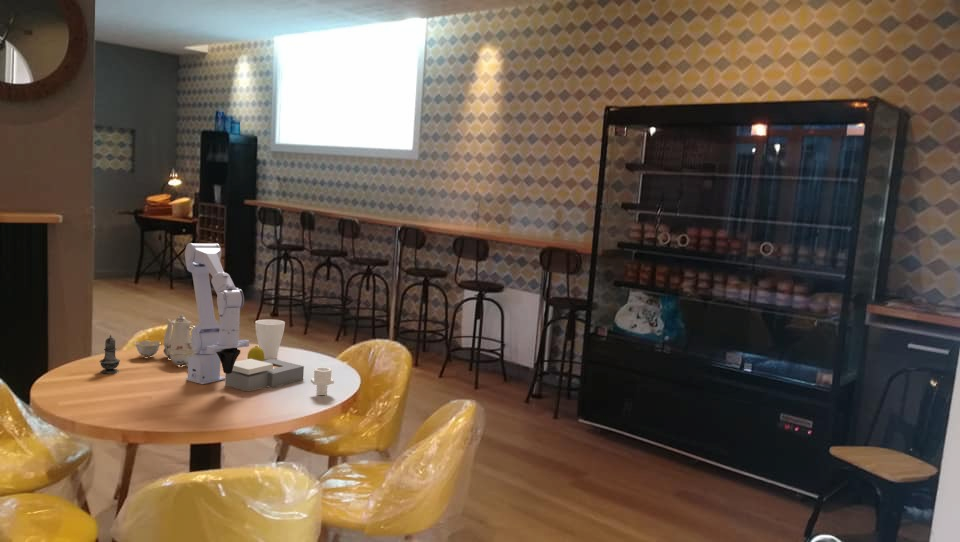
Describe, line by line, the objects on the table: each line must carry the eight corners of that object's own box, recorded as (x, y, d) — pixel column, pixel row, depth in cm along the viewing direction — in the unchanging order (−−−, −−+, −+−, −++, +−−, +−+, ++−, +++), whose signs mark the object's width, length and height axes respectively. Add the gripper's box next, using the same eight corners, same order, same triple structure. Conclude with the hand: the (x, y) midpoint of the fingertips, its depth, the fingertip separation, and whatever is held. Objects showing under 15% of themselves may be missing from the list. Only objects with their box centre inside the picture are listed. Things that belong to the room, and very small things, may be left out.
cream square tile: (248, 374, 216) (248, 369, 216) (225, 368, 221) (226, 363, 221) (272, 369, 225) (273, 364, 225) (250, 363, 229) (250, 358, 229)
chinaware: (124, 362, 245) (121, 316, 242) (163, 349, 260) (161, 305, 257) (185, 375, 235) (182, 327, 231) (222, 361, 250) (220, 316, 246)
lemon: (260, 371, 241) (261, 348, 240) (244, 369, 241) (245, 346, 240) (265, 367, 247) (266, 344, 246) (250, 366, 247) (251, 343, 246)
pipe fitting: (337, 394, 221) (338, 369, 220) (320, 398, 215) (322, 373, 214) (322, 390, 224) (323, 365, 223) (305, 394, 218) (307, 369, 217)
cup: (247, 358, 256) (249, 322, 255) (264, 353, 266) (266, 318, 265) (272, 362, 253) (274, 325, 252) (288, 357, 263) (290, 321, 262)
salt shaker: (123, 370, 229) (124, 334, 228) (112, 374, 223) (113, 337, 222) (106, 368, 230) (107, 332, 229) (95, 373, 224) (96, 335, 223)
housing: (252, 392, 216) (253, 378, 215) (220, 384, 222) (221, 370, 222) (303, 379, 235) (303, 366, 234) (272, 371, 241) (272, 358, 241)
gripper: (219, 334, 205) (217, 379, 207) (257, 328, 218) (255, 371, 219) (202, 330, 209) (200, 375, 210) (240, 324, 221) (239, 367, 223)
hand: (227, 372), depth 215 cm, fingers closed
